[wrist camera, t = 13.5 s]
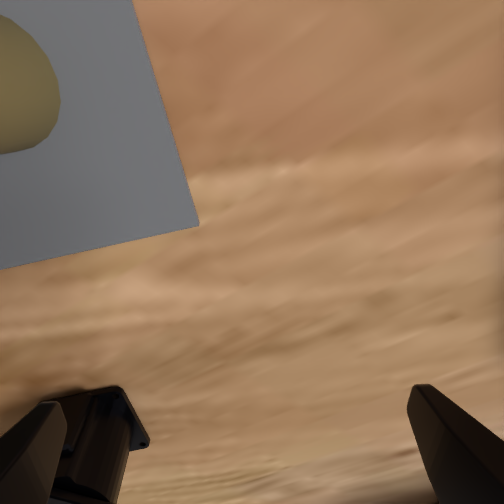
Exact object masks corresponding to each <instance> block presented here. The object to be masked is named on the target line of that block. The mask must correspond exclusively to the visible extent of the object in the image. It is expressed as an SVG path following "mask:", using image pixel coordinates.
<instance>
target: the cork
mask: <svg viewBox="0 0 504 504" xmlns="http://www.w3.org/2000/svg"><path fill="white" fill-rule="evenodd" d="M60 104H61V100H60V92H59V85H58V79H57V77H56V75H55V72H54V70H53V68H52V65H51V63H50V61H49V58H48V57H47V55H46V54H45V53H44V51H43V50H42V49H41V47H40V46H39V45H38V44H37V42H36V41H35V40H34V38H33V37H32V36H31V35H30V34H29V33H27V32H26V31H25V30H24V29H22V28H21V27H20V26H19V25H17V24H16V23H15V22H14V21H12V20H11V19H9V18H7V17H5V16H2V15H0V154H6V153H12V152H17V151H21V150H25V149H29V148H33V147H35V146H36V145H37V144H39V143H40V142H42V141H43V140H44V139H46V138H47V137H48V136H49V134H50V133H51V131H52V129H53V128H54V126H55V125H56V123H57V120H58V115H59V109H60Z"/></svg>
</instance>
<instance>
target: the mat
mask: <svg viewBox="0 0 504 504" xmlns="http://www.w3.org/2000/svg"><path fill="white" fill-rule="evenodd" d="M0 15H2V16H5V17H7V18H9V19H11V20H12V21H14V22H15V23H16V24H17V25H19V26H20V27H21V28H22V29H24V30H25V31H26V32H27V33H29V34H30V35H31V36H32V37H33V38H34V40H35V41H36V42H37V44H38V45H39V46H40V47H41V49H42V50H43V51H44V53H45V54H46V55H47V57H48V58H49V61H50V63H51V65H52V68H53V70H54V72H55V75H56V77H57V79H58V85H59V92H60V100H61V104H60V109H59V115H58V120H57V123H56V125H55V126H54V128H53V129H52V131H51V133H50V134H49V136H48V137H47V138H46V139H44V140H43V141H42V142H40V143H39V144H37V145H36V146H35V147H33V148H29V149H25V150H21V151H17V152H12V153H6V154H0V270H2V269H6V268H11V267H15V266H20V265H24V264H29V263H33V262H38V261H42V260H47V259H51V258H56V257H60V256H65V255H69V254H74V253H78V252H83V251H88V250H92V249H97V248H101V247H106V246H110V245H115V244H119V243H124V242H128V241H133V240H137V239H142V238H146V237H151V236H155V235H160V234H164V233H169V232H173V231H178V230H183V229H187V228H192V227H196V226H199V219H198V216H197V213H196V210H195V206H194V203H193V200H192V196H191V193H190V190H189V187H188V183H187V180H186V177H185V174H184V170H183V167H182V164H181V160H180V157H179V154H178V151H177V147H176V144H175V141H174V137H173V134H172V131H171V128H170V124H169V121H168V118H167V115H166V111H165V108H164V105H163V101H162V98H161V95H160V92H159V88H158V85H157V82H156V78H155V75H154V72H153V69H152V65H151V62H150V59H149V56H148V52H147V49H146V46H145V42H144V39H143V36H142V33H141V29H140V26H139V23H138V19H137V16H136V13H135V10H134V6H133V3H132V0H0Z"/></svg>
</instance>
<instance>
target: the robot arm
mask: <svg viewBox="0 0 504 504" xmlns="http://www.w3.org/2000/svg"><path fill="white" fill-rule="evenodd" d="M407 414H408V417H409V421H410V424H411V427H412V430H413V433H414V436H415V439H416V442H417V445H418V448H419V451H420V454H421V457H422V460H423V463H424V466H425V469H426V472H427V475H428V477H429V480H430V482H431V484H432V487H433V489H434V491H435V494H436V496H437V498H438V500H439V503H440V504H504V441H503V440H502V439H500V438H499V437H498V436H496V435H495V434H494V433H493V432H491V431H490V430H489V429H487V428H486V427H485V426H484V425H482V424H481V423H480V422H478V421H477V420H476V419H475V418H473V417H472V416H471V415H469V414H468V413H467V412H466V411H464V410H463V409H462V408H460V407H459V406H458V405H457V404H455V403H454V402H453V401H451V400H450V399H449V398H448V397H446V396H445V395H444V394H442V393H441V392H440V391H439V390H437V389H436V388H435V387H433V386H432V385H430V384H416V385H414V386H413V387H412V390H411V393H410V397H409V400H408V404H407ZM149 443H150V438H149V436H148V434H147V432H146V431H145V429H144V427H143V425H142V423H141V421H140V419H139V418H138V416H137V414H136V412H135V410H134V408H133V406H132V405H131V403H130V401H129V399H128V397H127V395H126V393H125V392H124V390H123V389H122V388H120V387H112V388H107V389H102V390H97V391H92V392H88V393H83V394H78V395H73V396H68V397H63V398H58V399H53V400H48V401H43V402H40V403H38V404H37V406H35V407H34V408H33V409H32V410H31V411H30V412H29V413H27V414H26V415H25V416H24V417H23V418H22V419H21V420H20V421H18V422H17V423H16V424H15V425H14V426H13V427H12V428H10V429H9V430H8V431H7V432H6V433H5V434H4V435H3V436H1V437H0V504H116V503H117V499H118V495H119V491H120V487H121V483H122V479H123V475H124V471H125V467H126V463H127V459H128V455H129V451H134V450H139V449H144V448H147V447H148V446H149Z"/></svg>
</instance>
